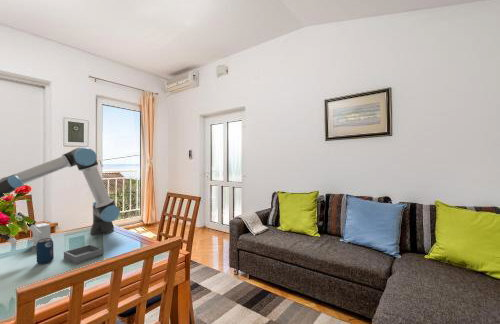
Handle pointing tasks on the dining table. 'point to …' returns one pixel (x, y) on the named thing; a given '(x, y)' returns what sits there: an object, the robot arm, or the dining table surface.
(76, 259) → the bin
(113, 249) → the dining table surface
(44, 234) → the small box
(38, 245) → the soda can
